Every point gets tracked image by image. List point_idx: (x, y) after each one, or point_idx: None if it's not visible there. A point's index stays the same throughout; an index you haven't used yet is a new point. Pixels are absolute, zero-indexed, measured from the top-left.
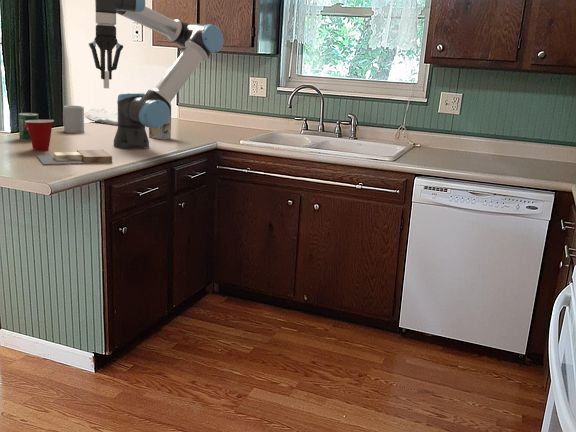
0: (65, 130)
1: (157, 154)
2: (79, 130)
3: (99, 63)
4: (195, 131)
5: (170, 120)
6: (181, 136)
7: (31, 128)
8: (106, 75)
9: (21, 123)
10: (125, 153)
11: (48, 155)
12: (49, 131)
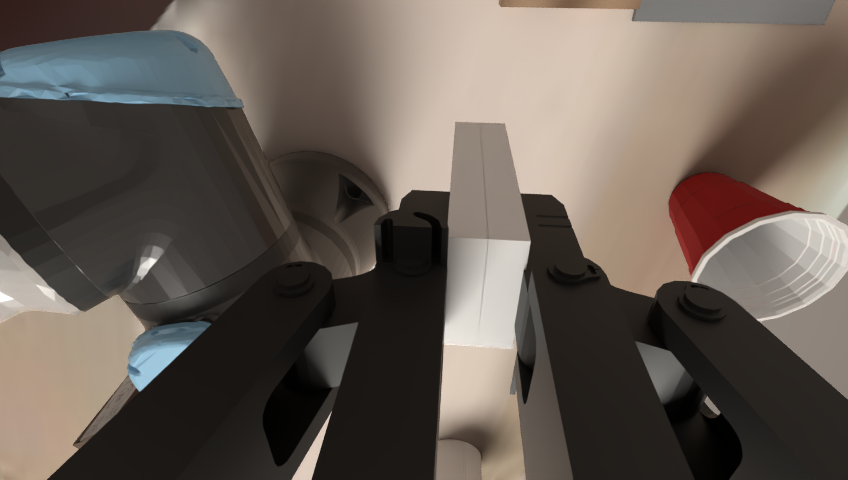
0: (480, 457)
1: (228, 10)
2: (442, 446)
3: (729, 386)
4: (81, 422)
5: (119, 387)
6: (123, 362)
7: (813, 224)
8: (497, 197)
9: None
10: (376, 60)
11: (769, 17)
12: (715, 211)
